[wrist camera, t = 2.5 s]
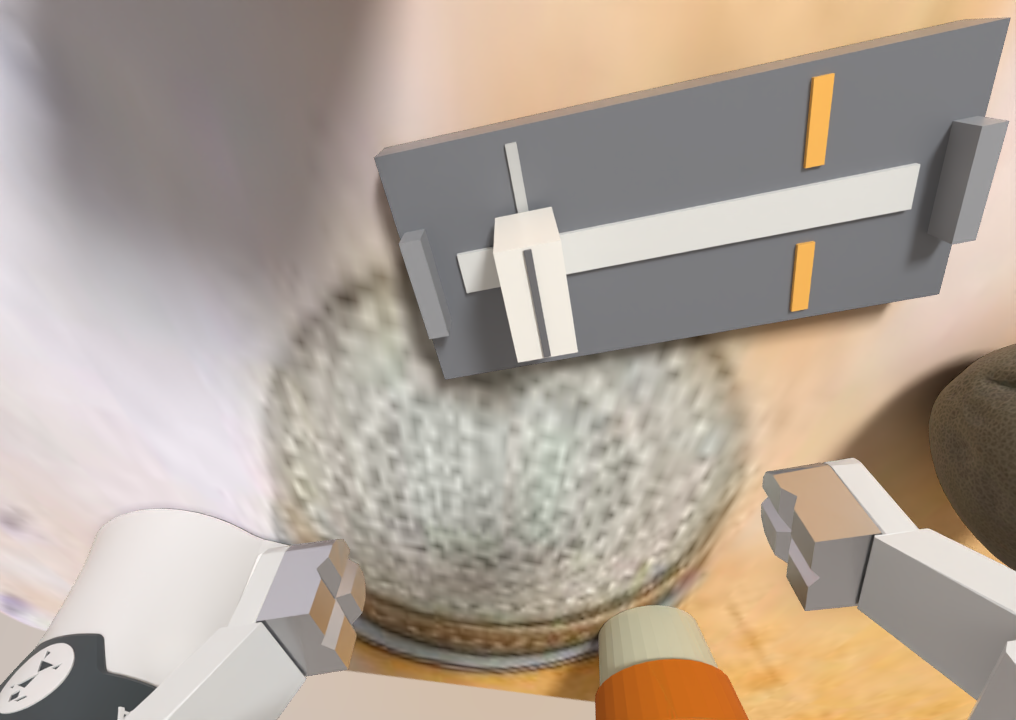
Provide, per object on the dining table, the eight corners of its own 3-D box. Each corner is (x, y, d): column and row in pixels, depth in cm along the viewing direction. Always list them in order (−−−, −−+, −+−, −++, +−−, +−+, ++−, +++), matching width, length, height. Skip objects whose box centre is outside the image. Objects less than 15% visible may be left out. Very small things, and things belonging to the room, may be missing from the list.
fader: (566, 304, 26) (578, 353, 22) (515, 314, 26) (518, 363, 22) (551, 206, 23) (561, 241, 19) (495, 218, 24) (493, 254, 20)
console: (907, 275, 28) (962, 307, 25) (449, 357, 31) (442, 396, 28) (963, 19, 22) (1047, 15, 19) (384, 147, 25) (365, 165, 21)
